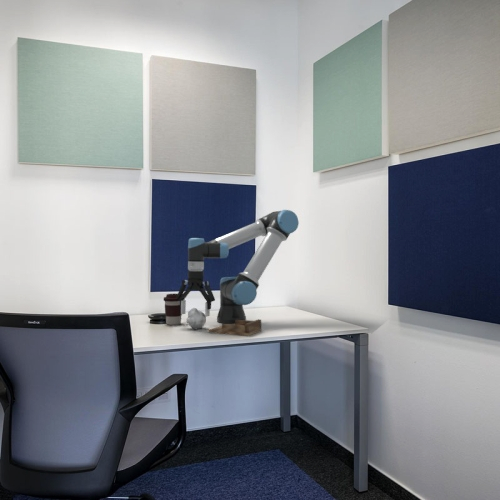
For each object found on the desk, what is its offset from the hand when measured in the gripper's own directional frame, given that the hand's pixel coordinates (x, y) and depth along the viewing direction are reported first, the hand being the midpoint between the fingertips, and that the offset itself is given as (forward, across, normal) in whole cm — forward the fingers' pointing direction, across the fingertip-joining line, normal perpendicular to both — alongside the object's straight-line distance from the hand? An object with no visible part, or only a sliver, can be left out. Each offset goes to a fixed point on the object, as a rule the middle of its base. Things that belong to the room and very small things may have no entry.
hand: (195, 315), depth 224 cm
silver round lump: (+7, 0, 0) cm, 7 cm away
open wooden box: (+6, +20, +2) cm, 21 cm away
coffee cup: (+7, -18, +8) cm, 20 cm away
